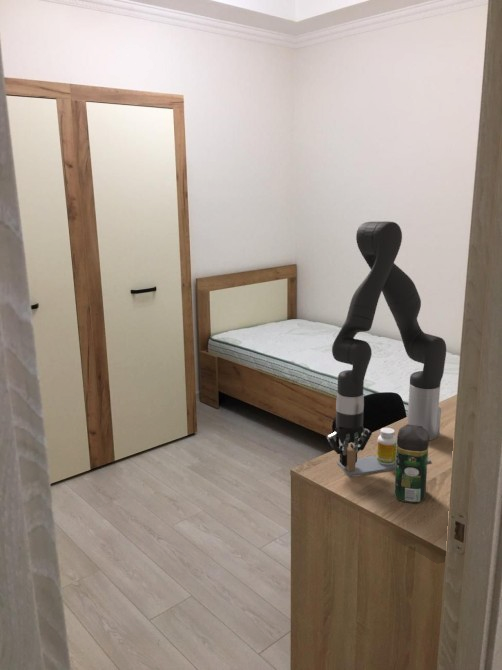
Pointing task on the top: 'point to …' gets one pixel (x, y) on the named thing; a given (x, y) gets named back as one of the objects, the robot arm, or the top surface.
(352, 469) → the strip
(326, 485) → the top surface
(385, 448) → the supplement bottle
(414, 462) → the coffee jar
